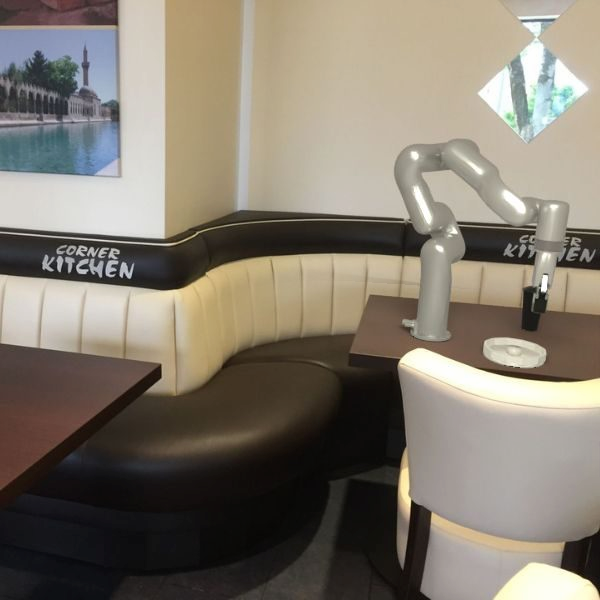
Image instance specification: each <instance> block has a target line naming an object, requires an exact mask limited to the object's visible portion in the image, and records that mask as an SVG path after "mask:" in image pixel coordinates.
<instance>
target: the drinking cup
mask: <svg viewBox="0 0 600 600" xmlns="http://www.w3.org/2000/svg"><path fill="white" fill-rule="evenodd" d="M535 292H536V286H535V288H534V287H533V286H532V285H527V286H523V287H522V312H521V329H522V330H524V329H525V330H524V331H527V330H529V331H528V332H535V330H536V331H537V330H538V326H539V324H540V318H541V315H542V314H541V313H535V312H532V311H531V308H532V301H533V295H534V293H535Z"/></svg>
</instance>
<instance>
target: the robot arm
mask: <svg viewBox="0 0 600 600" xmlns="http://www.w3.org/2000/svg"><path fill="white" fill-rule="evenodd" d="M499 170H500V169H499V168H498V166H496V165H495V164H494V163H493V162H491V160H489V159H488V158H486V157H485V156H484V155H483V154H481V151H480V148H479V146H478V144H477V143H476V142H475V141H474V140H471V139H470V138H469V139H468V138H453V139H450V140H448V141H446V142H439V143H414V144H409V145H407V146H406V147H404V148H403V149H402V150H401V151H400V152H399V154H398V156H396V159H395V161H394V166H393V176H394V180H395V183H396V187H397V189H398V191H399V193H400V195H401V198H402V201H403V203H404V205H405V208H406V211H407V213H408V216H409V219H410V221H411V222H410V223H411V224H412V226H413V228H414V230H415V231H416V232H417V233H418V234H420V235H424V236H425V235H430V237H431V238H430V239H428V240H426V241H425V243H424V244H423V245H422V247H421V248H420V253H419V254H420V256H419V257H420V258H419V259H420V260H419V261H420V279H419V280H420V281H419V293H418V302H417V311H416V319H412V320H411V319H407V318H403V319H402V323H401V324H402V326H404V327H405V328H411V329H410V333H409V334H410V335H411V336H412V337H413V336H414V338H415V339H418V340H421V341H426V342H435V343H436V342H437V343H438V342H445V341H448V340H450V339H451V338H452V334H451V332H450V331H449V330H448V329H447V328H448V321H449V320H448V318H449V310H450V301H451V294H452V292H451V291H452V283H453V282H452V281H453V275H452V274H453V273H452V265H453V264H455V263H457V262H459V261H460V260H461V259H462V258H463V257H464V255H465V252H466V243H465V240H464V237H463V234H462V232H461V229H460V227H459V225H458V221H457V219H456V217H455V215H454V212H453V210H452V209H451V207H449V206H448V205H447V204H446V203H445V202H443V201H442V202H441V201H435V199H434V197H433V195H432V193H431V192H432V191H431V189H430V187H429V185H428V183H427V182H426V180H425V179H424V177H423V175H422V173H432V172H433V173H434V172H440V171H441V172H442V171H452V172H453V173H454V174H455V175H456V176H458V177H459V179H461V180H462V181H464V182H465V183H466V184H467V185H469V186H470V187H471V188H472V189H473V190H474V191H475V192H476V193H477V195H478V197H479V198H480V199H481V200H482V202H484V204H485V205H486V207H488V208H489V209H490V210H491V211H492V212H493V213H494V214H495V215H496V216H498V217H499V218H500V219H501V220H503V221H504V222H505V223H507V224H508V225H511V226H512V227H522V226H523V227H524V226H526V225H531V224H536V228H535V235H534V244H533V249H532V250H533V251H534V252H536V254H535V259H534V265H533V270H532V271H533V272H532V277H531V286H533V287H534V288H535V286H536V292H535V293H537V295H536V298H535V301H534V308H533V312H537V313H544V314H546V313H547V311H546V306H547V307H548V305H547V295H549V293H548V292H549V290H550V289H552V287H553V282H554V278H555V273H556V269H557V268H556V266H557V260H558V255H561V254H563V251H564V246H565V240H566V234H567V233H566V232H567V227H568V223H569V222H568V220H569V214H570V204H569V203H568V202H567V201H563V200H558V199H557V200H556V199H555V200H554V199H553V200H552V199H548V200H547V199H541V198H537V197H532V196H525V197H524V196H523V197H521V196H519V195H518V194H517V193H515V191H514V190H513V189H511V188H509V187H508V186H507V185H506V183H505V182H504V181H503V179H502V178H501V176H500V171H499ZM545 312H546V313H545Z"/></svg>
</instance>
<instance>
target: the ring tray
mask: <svg viewBox="0 0 600 600" xmlns="http://www.w3.org/2000/svg"><path fill="white" fill-rule="evenodd" d="M483 342H484V343H483V347H482V348H483V349H482V355H483V357H485V359H487V360H489V361H491V362H492V363H495V364H498V365H502V366H504V365H506V366H505V367H509V366H513V367H512V368H515V367H520V368H519V369H535V368H534V367H536V368H540V367H542V366H544V364H545V362H546V359H547V350H546V348H544V347H543V346H541V345H539V344H538V343H535V342H532V341H528V340H525V339H522V338H521V339H520V338H512V337H507V336H506V337H491V338H488V339H486V340H484V341H483Z"/></svg>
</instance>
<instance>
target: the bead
mask: <svg viewBox="0 0 600 600" xmlns="http://www.w3.org/2000/svg"><path fill="white" fill-rule="evenodd" d="M536 295H537V293H534V295H533V301H532V308H531V311H532V312H533V308H534V301H535V298H536ZM549 296H550V295H549V294H548V295H547V306H546V312H545V313H541V315H542V314H547V309H548V303H549ZM535 313H537V312H535Z"/></svg>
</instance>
